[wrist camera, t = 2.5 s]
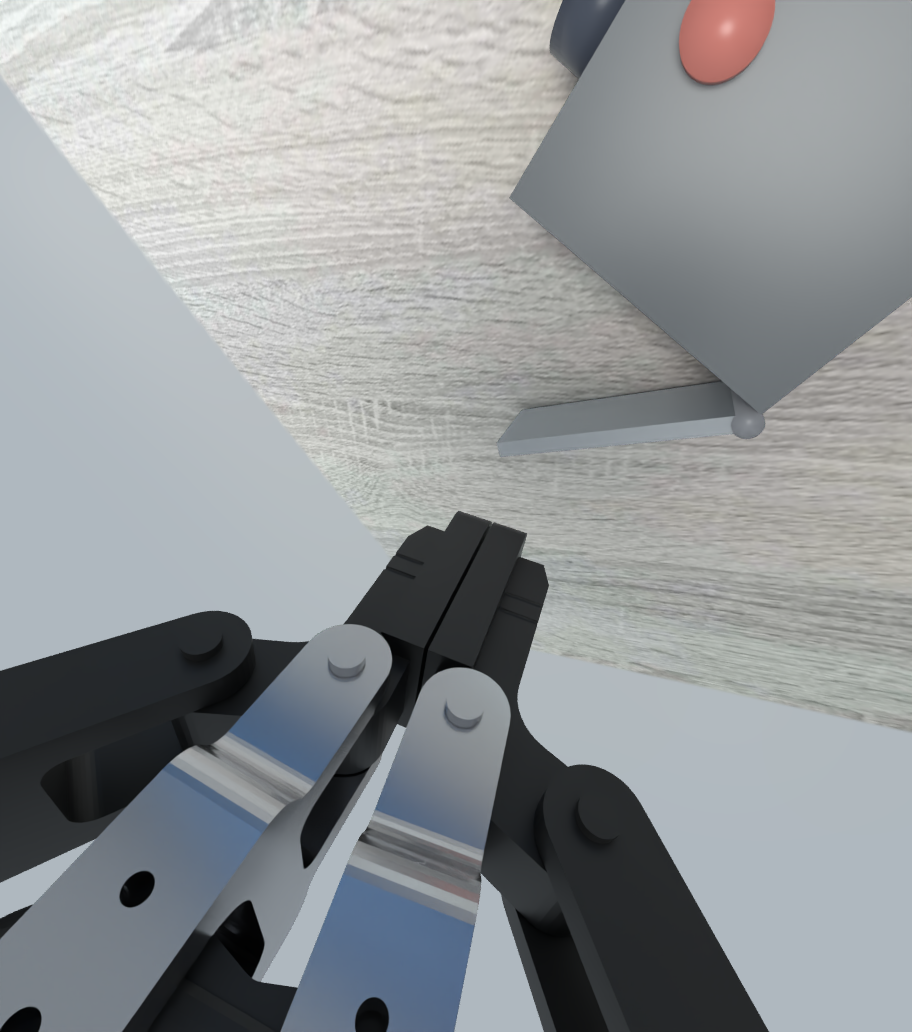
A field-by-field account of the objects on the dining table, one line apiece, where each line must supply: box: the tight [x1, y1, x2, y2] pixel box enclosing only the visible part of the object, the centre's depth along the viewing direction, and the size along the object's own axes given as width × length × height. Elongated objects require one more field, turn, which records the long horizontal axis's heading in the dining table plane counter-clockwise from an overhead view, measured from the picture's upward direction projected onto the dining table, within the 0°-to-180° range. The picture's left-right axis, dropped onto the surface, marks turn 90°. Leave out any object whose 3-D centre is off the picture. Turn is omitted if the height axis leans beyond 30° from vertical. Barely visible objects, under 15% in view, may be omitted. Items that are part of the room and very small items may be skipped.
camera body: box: [510, 0, 912, 414], centre depth 18 cm, size 15×10×7 cm
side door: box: [497, 381, 765, 457], centre depth 25 cm, size 12×1×5 cm, turn 106°
